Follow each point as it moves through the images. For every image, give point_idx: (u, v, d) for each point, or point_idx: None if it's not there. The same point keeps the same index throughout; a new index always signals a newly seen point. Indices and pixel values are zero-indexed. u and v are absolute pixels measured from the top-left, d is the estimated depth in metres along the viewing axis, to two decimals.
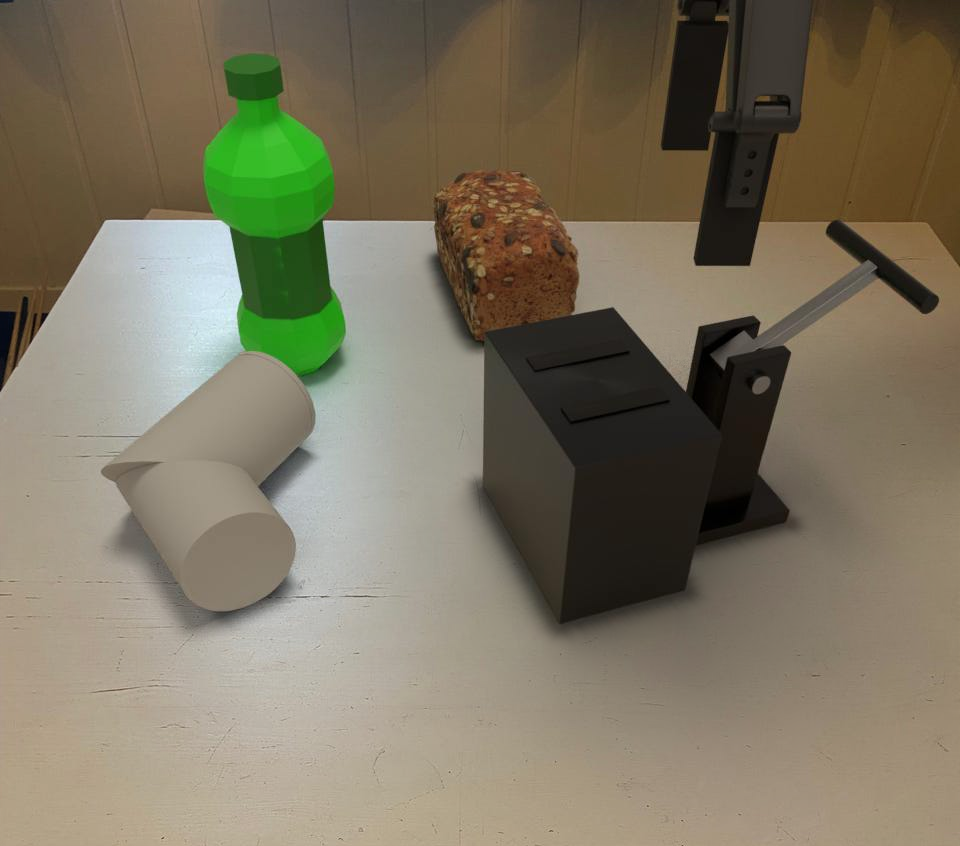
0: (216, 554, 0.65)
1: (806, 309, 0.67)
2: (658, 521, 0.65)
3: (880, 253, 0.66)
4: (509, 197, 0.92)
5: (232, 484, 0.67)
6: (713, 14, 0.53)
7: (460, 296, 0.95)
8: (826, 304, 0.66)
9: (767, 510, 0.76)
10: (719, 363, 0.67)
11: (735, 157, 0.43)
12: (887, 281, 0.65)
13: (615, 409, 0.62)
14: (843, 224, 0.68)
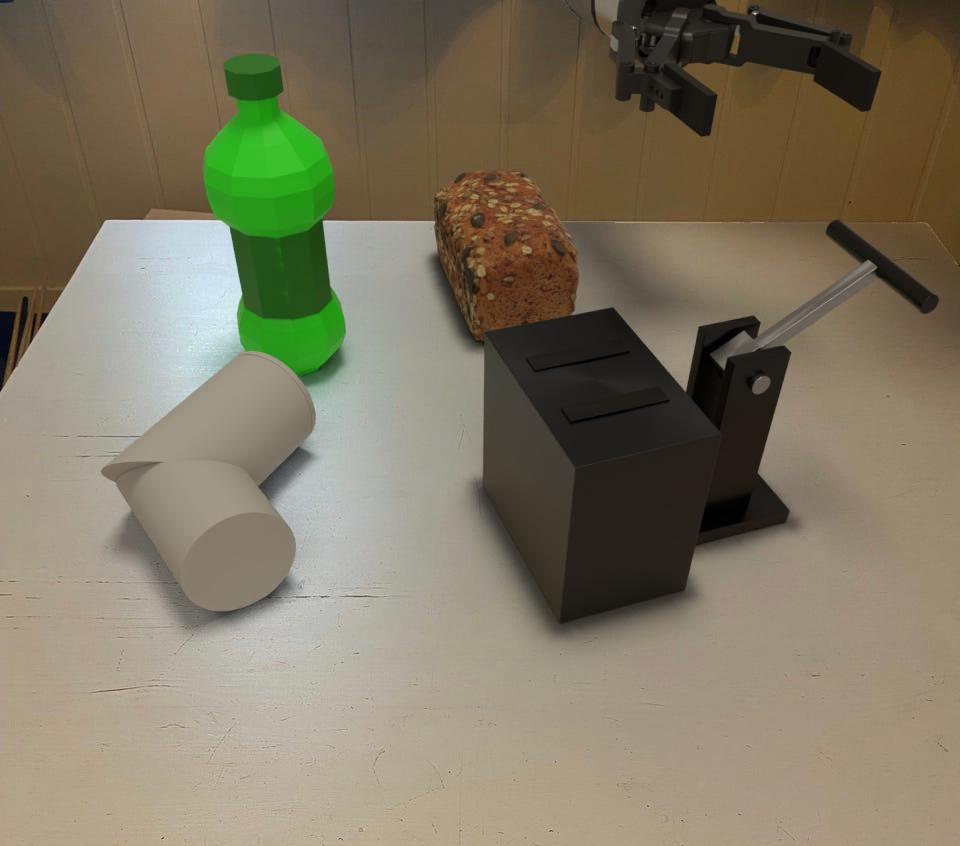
0: (216, 554, 0.65)
1: (806, 309, 0.67)
2: (658, 521, 0.65)
3: (880, 253, 0.66)
4: (509, 197, 0.92)
5: (232, 484, 0.67)
6: None
7: (460, 296, 0.95)
8: (826, 304, 0.66)
9: (767, 510, 0.76)
10: (719, 363, 0.67)
11: (652, 99, 0.72)
12: (887, 281, 0.65)
13: (615, 409, 0.62)
14: (843, 224, 0.68)
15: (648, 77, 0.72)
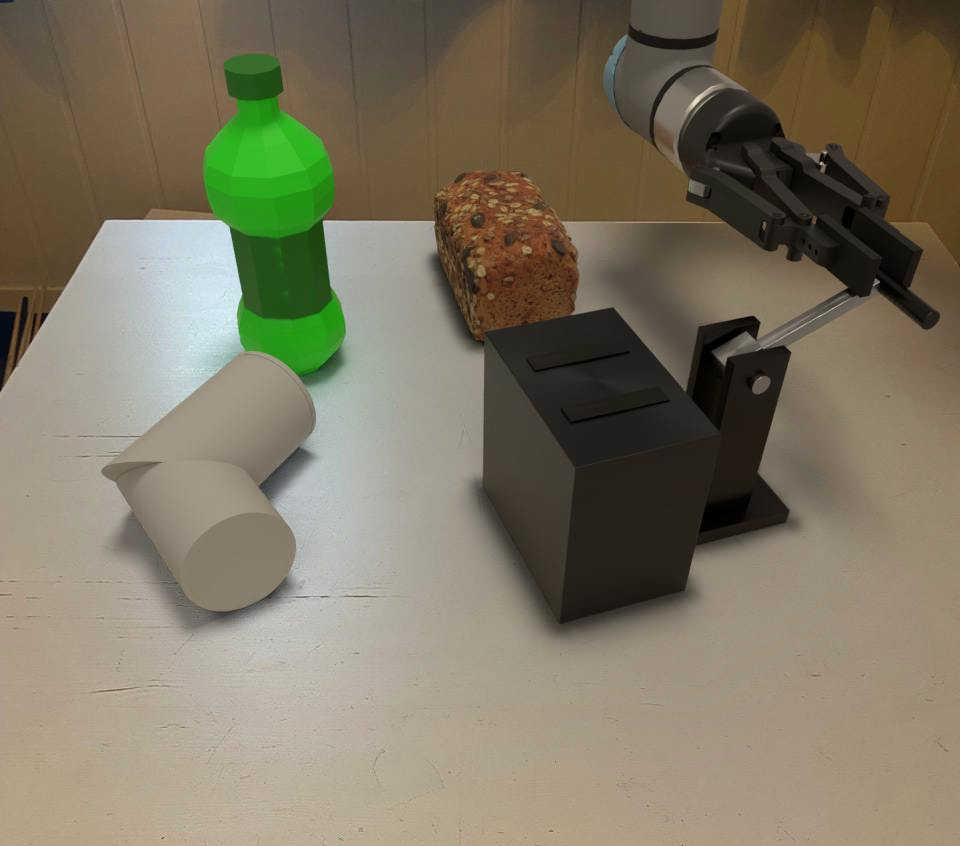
0: (216, 554, 0.65)
1: (808, 316, 0.67)
2: (658, 521, 0.65)
3: (883, 269, 0.67)
4: (509, 196, 0.92)
5: (232, 484, 0.67)
6: (855, 214, 0.70)
7: (460, 296, 0.95)
8: (828, 312, 0.67)
9: (767, 510, 0.76)
10: (720, 360, 0.67)
11: (803, 251, 0.69)
12: (889, 296, 0.66)
13: (615, 409, 0.62)
14: None
15: (800, 230, 0.68)
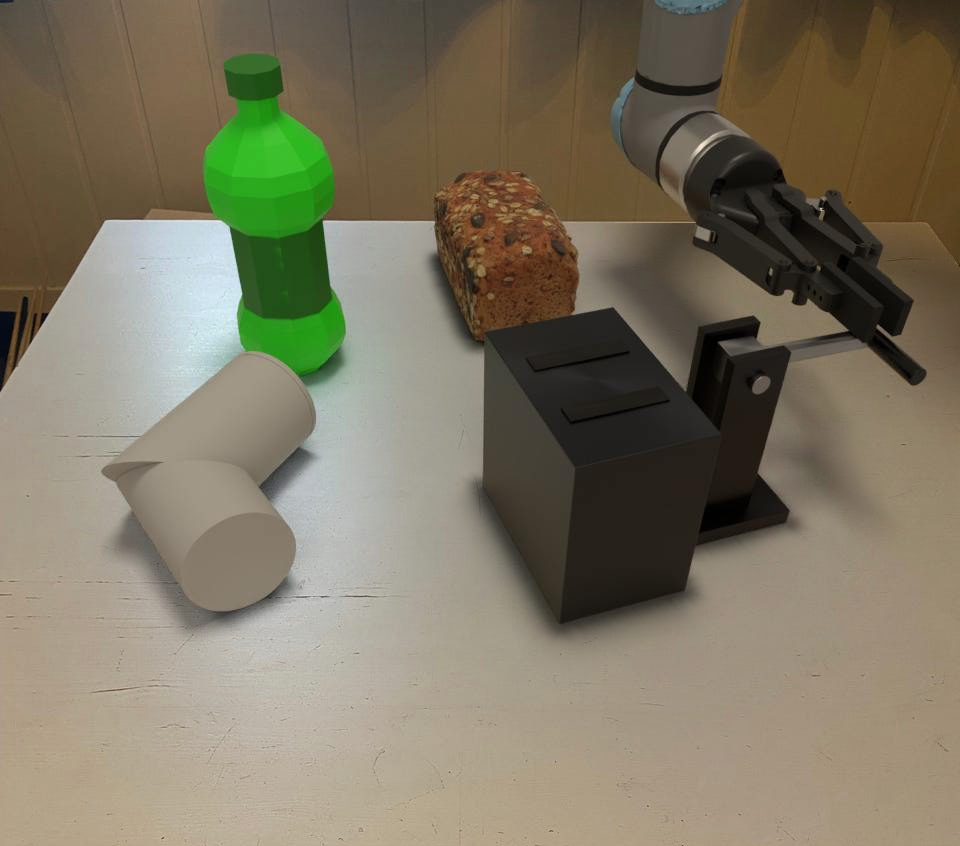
0: (216, 554, 0.65)
1: (808, 343, 0.69)
2: (658, 521, 0.65)
3: (876, 327, 0.71)
4: (509, 196, 0.92)
5: (232, 484, 0.67)
6: (849, 262, 0.73)
7: (460, 296, 0.95)
8: (826, 345, 0.69)
9: (767, 510, 0.76)
10: (727, 351, 0.67)
11: (808, 297, 0.72)
12: (880, 348, 0.69)
13: (615, 409, 0.62)
14: None
15: (805, 276, 0.71)
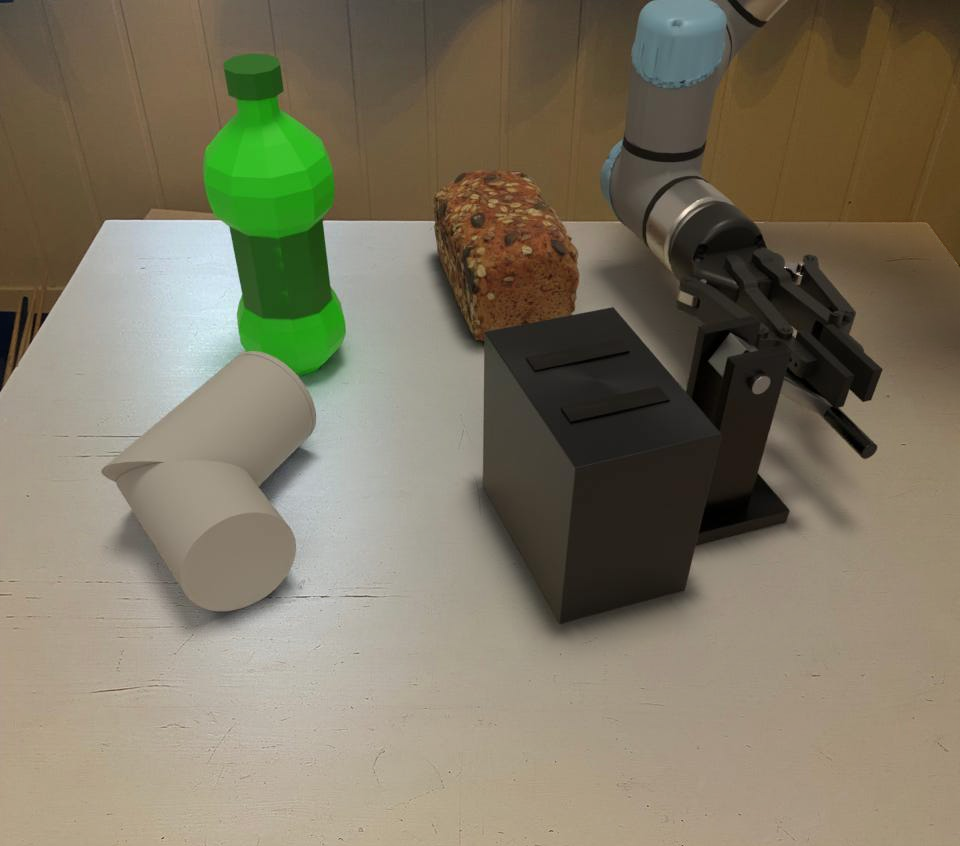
0: (216, 554, 0.65)
1: (790, 381, 0.71)
2: (658, 521, 0.65)
3: None
4: (509, 196, 0.92)
5: (232, 484, 0.67)
6: (823, 328, 0.77)
7: (460, 296, 0.95)
8: (801, 391, 0.72)
9: (767, 510, 0.76)
10: (740, 342, 0.66)
11: None
12: (838, 418, 0.73)
13: (615, 409, 0.62)
14: None
15: (781, 343, 0.75)
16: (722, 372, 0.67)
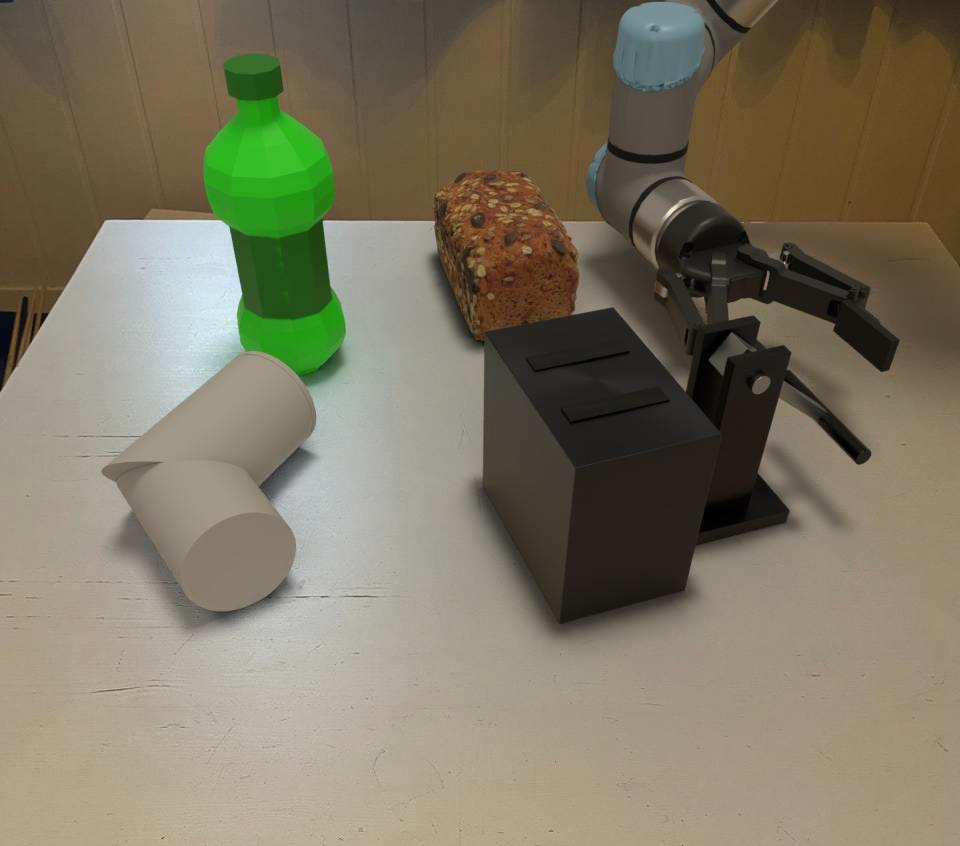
0: (216, 554, 0.65)
1: (787, 384, 0.71)
2: (658, 521, 0.65)
3: None
4: (509, 196, 0.92)
5: (232, 484, 0.67)
6: None
7: (460, 296, 0.95)
8: (798, 395, 0.72)
9: (767, 510, 0.76)
10: (741, 342, 0.66)
11: None
12: (833, 424, 0.73)
13: (615, 409, 0.62)
14: None
15: None
16: (722, 371, 0.67)
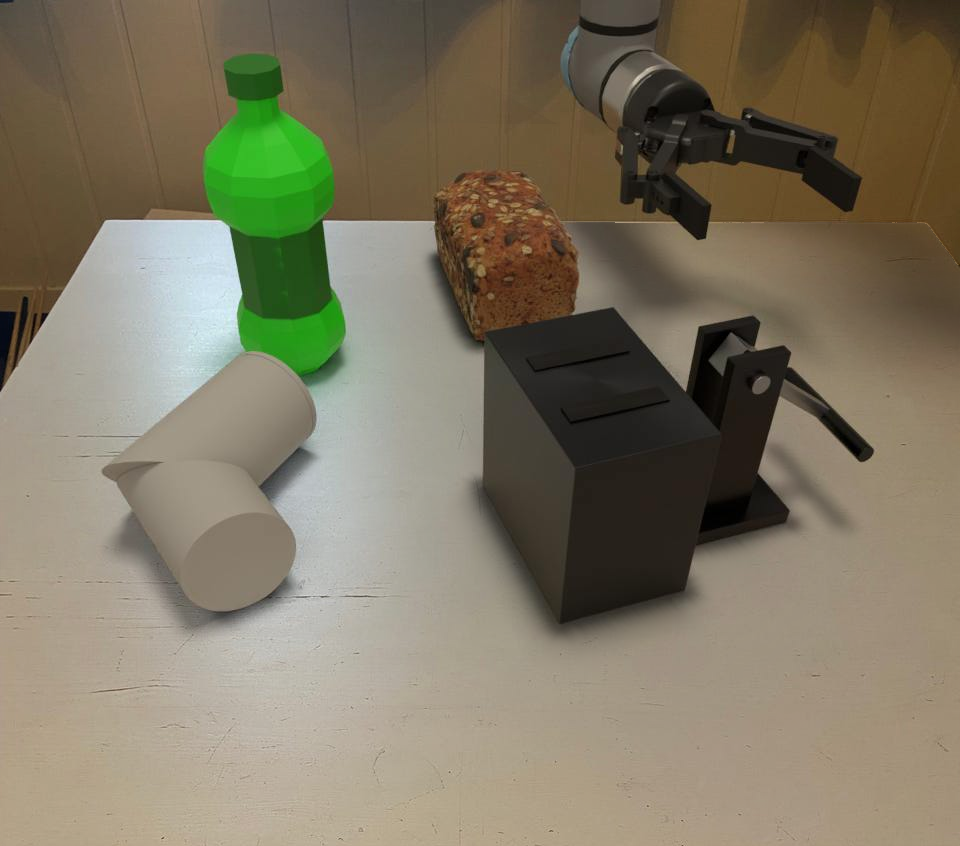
0: (216, 554, 0.65)
1: (788, 383, 0.71)
2: (658, 521, 0.65)
3: None
4: (509, 196, 0.92)
5: (232, 484, 0.67)
6: None
7: (460, 296, 0.95)
8: (800, 393, 0.72)
9: (767, 510, 0.76)
10: (740, 342, 0.66)
11: (653, 203, 0.80)
12: (835, 421, 0.73)
13: (615, 409, 0.62)
14: None
15: (649, 184, 0.79)
16: (722, 371, 0.67)
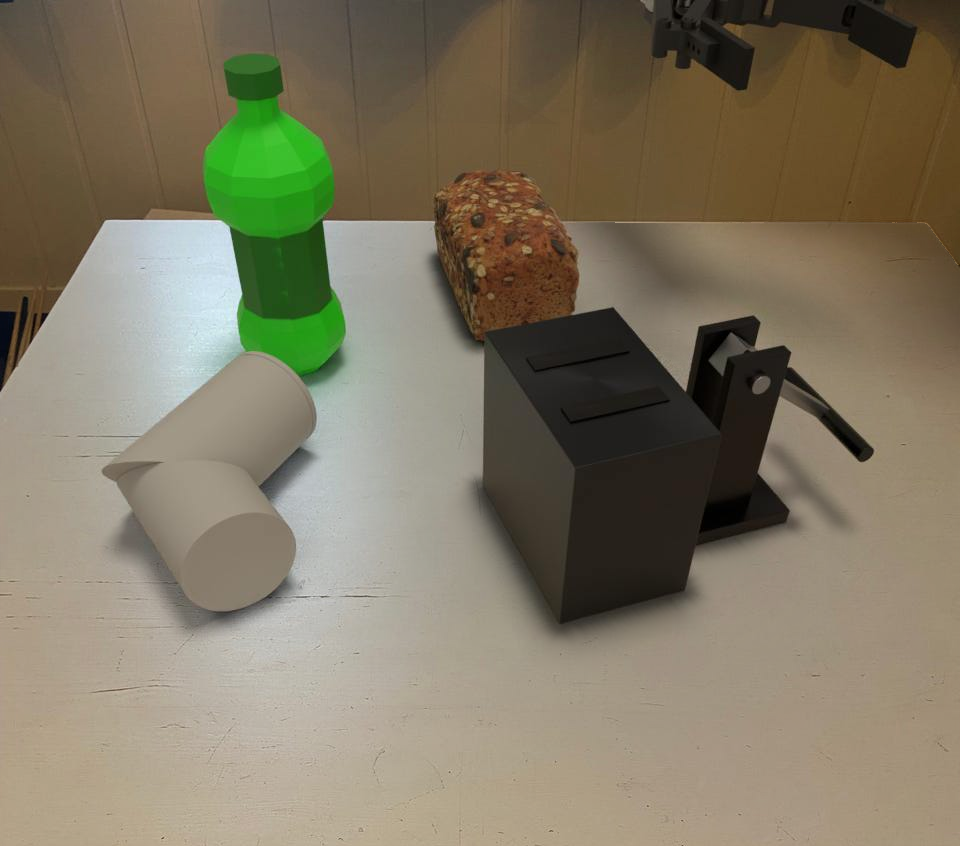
0: (216, 554, 0.65)
1: (788, 383, 0.71)
2: (658, 521, 0.65)
3: None
4: (509, 196, 0.92)
5: (232, 484, 0.67)
6: None
7: (460, 296, 0.95)
8: (800, 393, 0.72)
9: (767, 510, 0.76)
10: (740, 342, 0.66)
11: (688, 55, 0.73)
12: (835, 421, 0.73)
13: (615, 409, 0.62)
14: None
15: (685, 33, 0.72)
16: (722, 371, 0.67)
